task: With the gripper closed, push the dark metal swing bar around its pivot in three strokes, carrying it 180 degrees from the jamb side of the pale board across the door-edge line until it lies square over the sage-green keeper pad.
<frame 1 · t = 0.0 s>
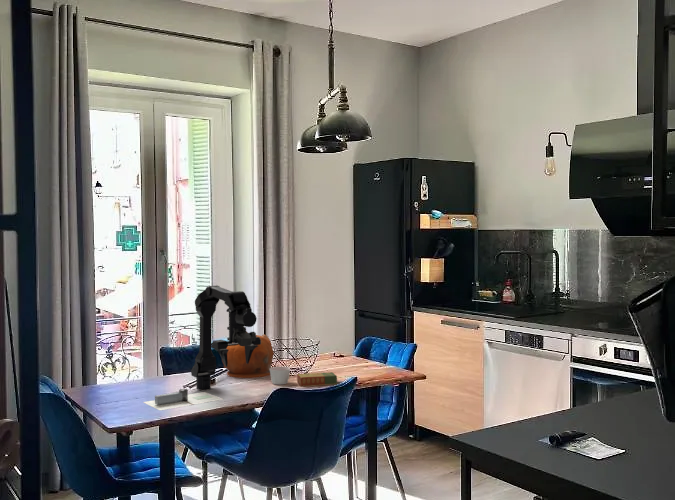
hand: (236, 365, 260), 15 cm above the table, fingers open, 9 cm apart
candle: (279, 383, 295), on the table
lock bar: (171, 396, 258), point 3 cm above the table, hinge at 0.0°
carton: (317, 384, 294), on the table
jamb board: (183, 403, 261), on the table
pumpkin: (250, 373, 317), on the table
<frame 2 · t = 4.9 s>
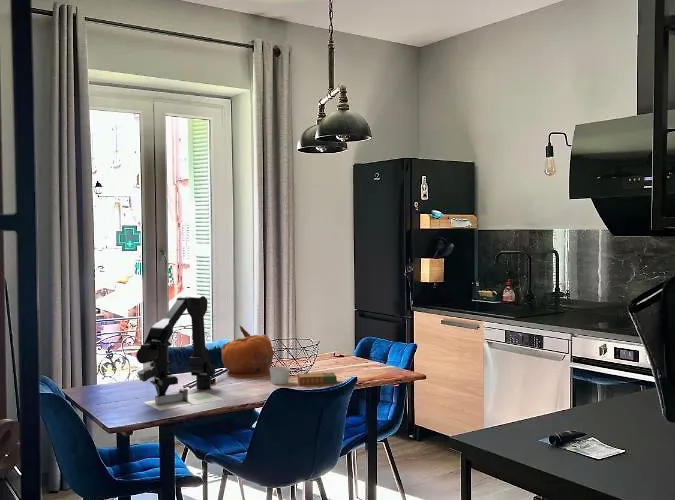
hand: (160, 400, 257), 2 cm above the table, fingers closed
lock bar: (172, 396, 257), point 3 cm above the table, hinge at 2.0°, touching gripper
everything else where it was.
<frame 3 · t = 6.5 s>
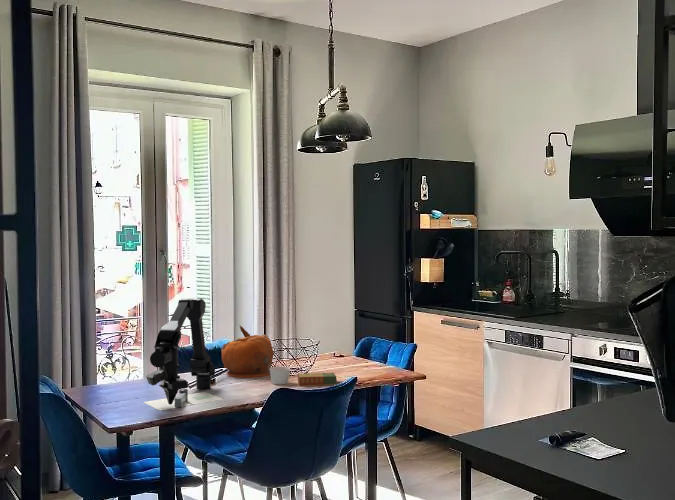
hand: (170, 404, 251), 2 cm above the table, fingers closed
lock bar: (181, 397, 256), point 3 cm above the table, hinge at 54.5°, touching gripper
everything else where it was.
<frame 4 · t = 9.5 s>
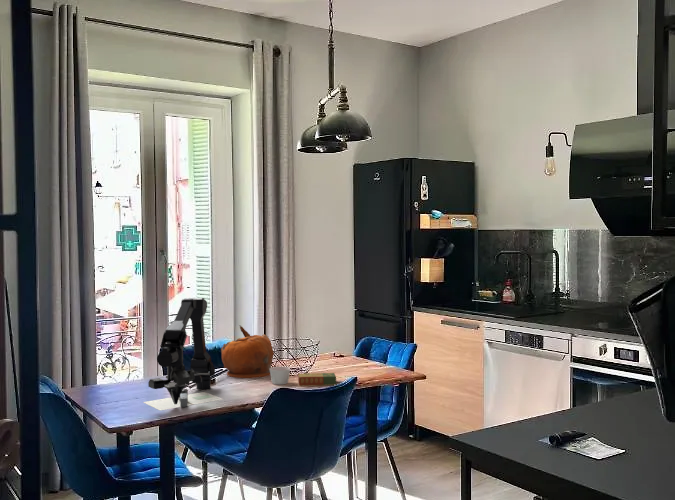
hand: (175, 404, 251), 2 cm above the table, fingers closed
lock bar: (183, 397, 256), point 3 cm above the table, hinge at 65.6°, touching gripper
everything else where it was.
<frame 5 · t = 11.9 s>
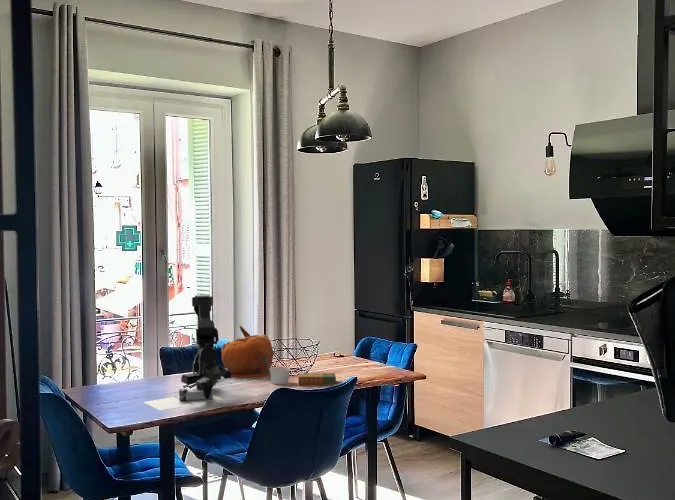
hand: (207, 398, 259), 2 cm above the table, fingers closed
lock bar: (195, 394, 261), point 3 cm above the table, hinge at 151.3°
everything else where it was.
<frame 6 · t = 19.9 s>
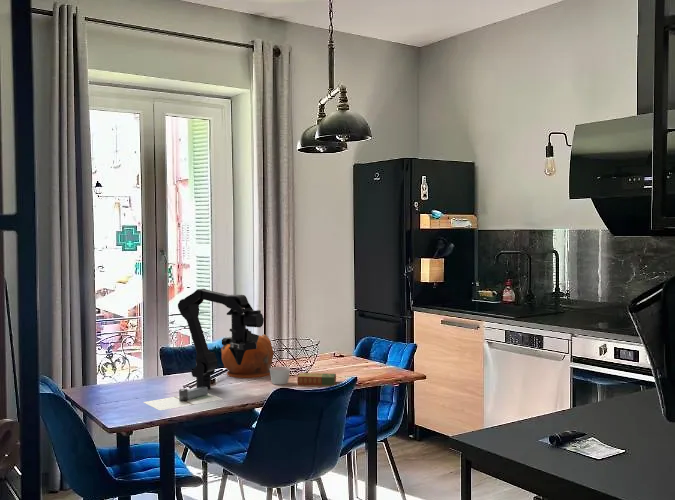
hand: (239, 364, 274), 12 cm above the table, fingers closed
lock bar: (193, 392, 264), point 3 cm above the table, hinge at 193.2°
at the end: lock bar at +193° (first picture: +0°) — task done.
